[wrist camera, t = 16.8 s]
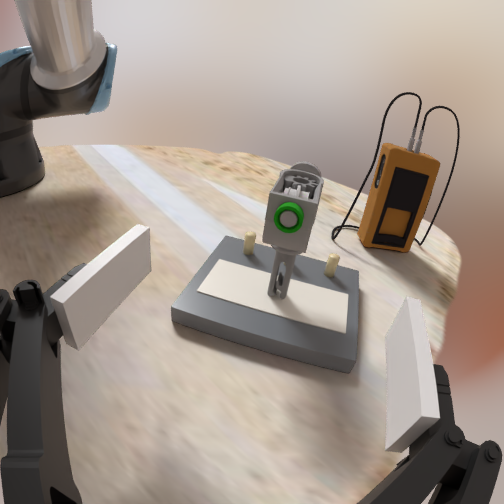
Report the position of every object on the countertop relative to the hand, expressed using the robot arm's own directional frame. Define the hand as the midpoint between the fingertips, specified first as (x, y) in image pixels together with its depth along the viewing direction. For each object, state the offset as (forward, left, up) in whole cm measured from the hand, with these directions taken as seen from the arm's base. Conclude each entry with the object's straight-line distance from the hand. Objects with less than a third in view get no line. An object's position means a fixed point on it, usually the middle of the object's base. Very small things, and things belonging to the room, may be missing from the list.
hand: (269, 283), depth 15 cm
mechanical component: (0, +8, -7) cm, 11 cm away
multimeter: (+10, +29, -9) cm, 32 cm away
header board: (0, +9, -9) cm, 13 cm away
